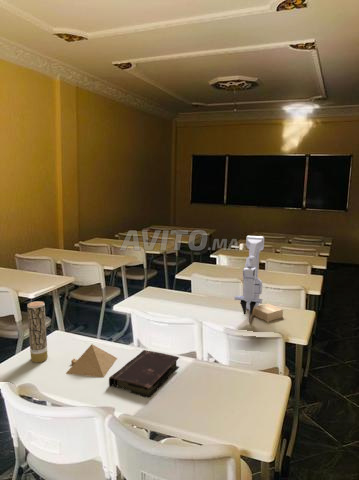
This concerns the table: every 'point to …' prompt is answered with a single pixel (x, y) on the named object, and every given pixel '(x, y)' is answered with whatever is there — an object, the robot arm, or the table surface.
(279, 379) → the table surface
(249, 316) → the carton flap
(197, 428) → the table surface
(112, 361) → the model pyramid
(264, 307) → the carton
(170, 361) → the diary
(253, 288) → the robot arm
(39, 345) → the bark-patterned cylinder
